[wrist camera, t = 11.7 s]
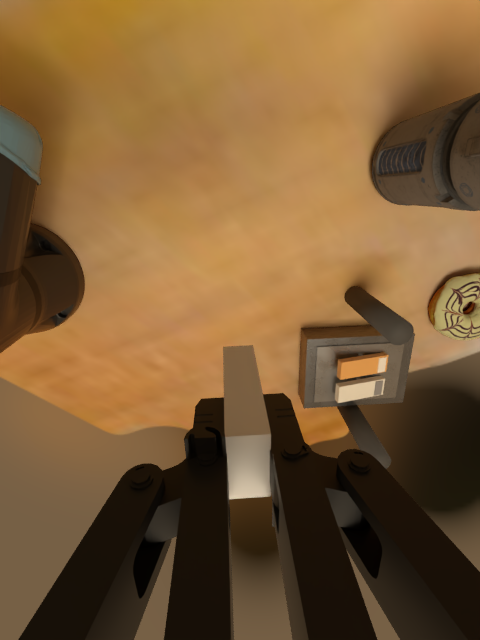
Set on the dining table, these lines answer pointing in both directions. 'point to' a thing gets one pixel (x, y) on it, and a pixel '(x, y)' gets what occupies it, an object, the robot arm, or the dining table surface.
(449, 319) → the decorated donut
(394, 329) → the post near
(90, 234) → the dining table surface
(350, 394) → the paddle ivory
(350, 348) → the breaker box
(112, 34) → the dining table surface
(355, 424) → the post far
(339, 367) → the paddle orange
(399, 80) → the dining table surface
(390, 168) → the beverage bottle
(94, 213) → the dining table surface
